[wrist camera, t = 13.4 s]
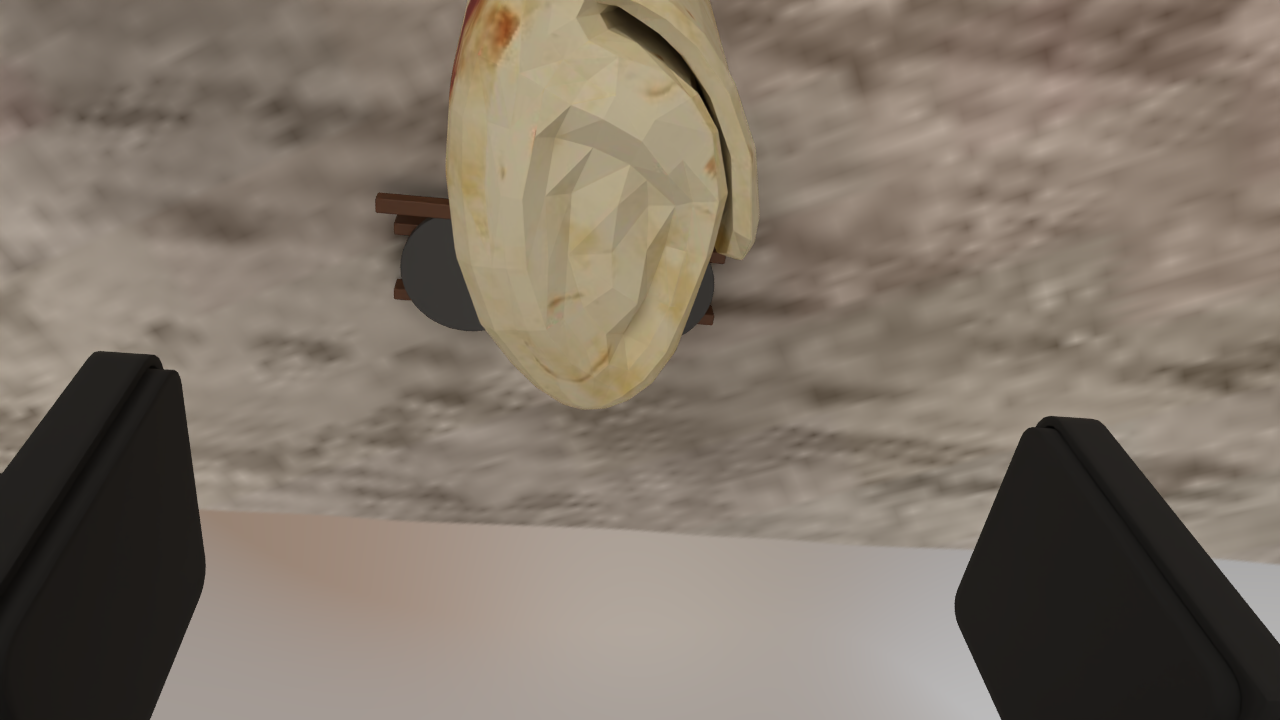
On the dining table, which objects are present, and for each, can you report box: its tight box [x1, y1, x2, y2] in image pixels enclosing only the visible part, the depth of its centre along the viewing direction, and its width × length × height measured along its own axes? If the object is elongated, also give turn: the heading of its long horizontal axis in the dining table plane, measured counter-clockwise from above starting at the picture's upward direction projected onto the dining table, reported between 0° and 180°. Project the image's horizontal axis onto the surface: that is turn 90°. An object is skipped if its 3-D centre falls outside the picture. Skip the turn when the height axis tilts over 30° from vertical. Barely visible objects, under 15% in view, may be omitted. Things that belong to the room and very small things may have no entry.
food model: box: [446, 0, 759, 410], centre depth 25 cm, size 10×7×20 cm
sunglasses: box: [375, 192, 726, 336], centre depth 39 cm, size 14×5×1 cm, turn 82°
